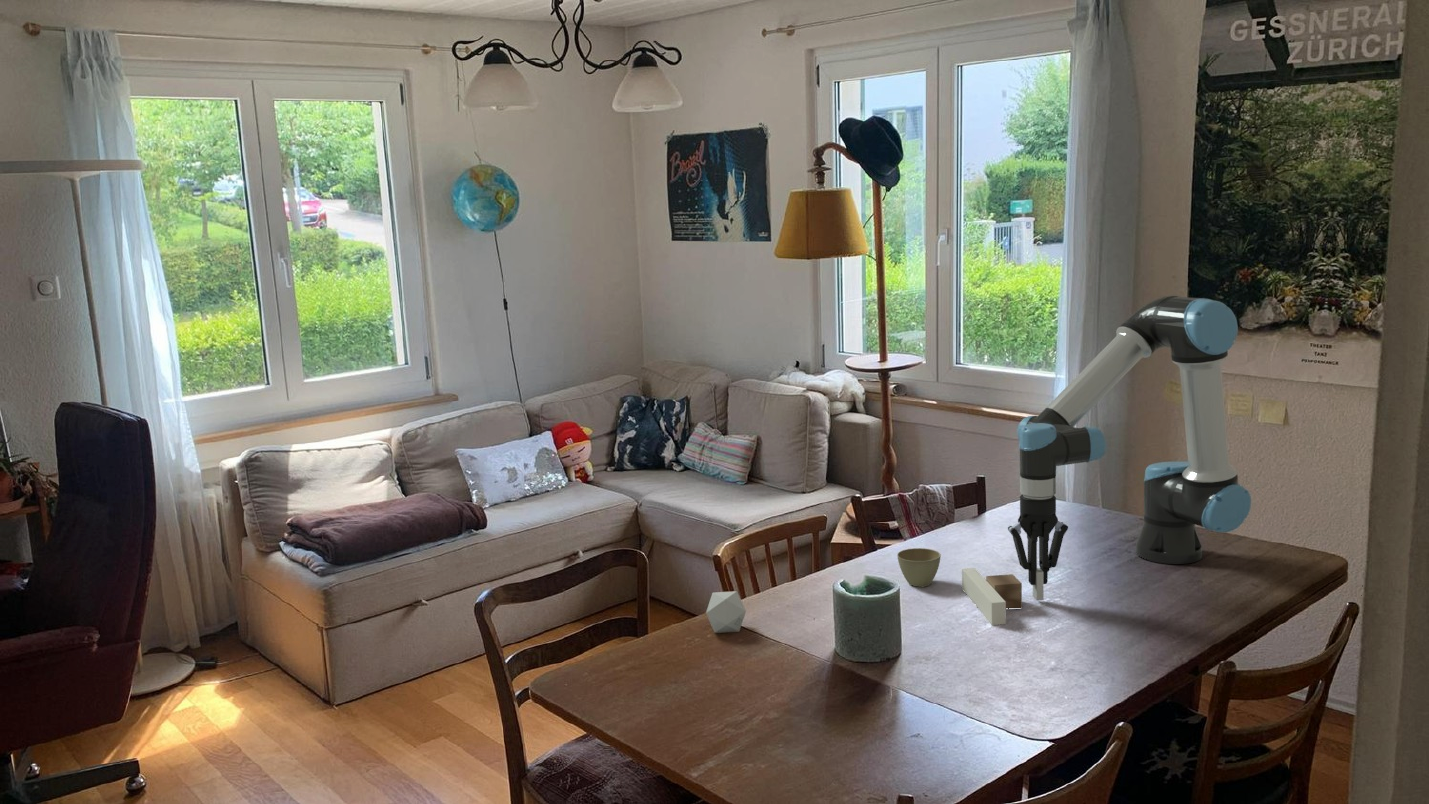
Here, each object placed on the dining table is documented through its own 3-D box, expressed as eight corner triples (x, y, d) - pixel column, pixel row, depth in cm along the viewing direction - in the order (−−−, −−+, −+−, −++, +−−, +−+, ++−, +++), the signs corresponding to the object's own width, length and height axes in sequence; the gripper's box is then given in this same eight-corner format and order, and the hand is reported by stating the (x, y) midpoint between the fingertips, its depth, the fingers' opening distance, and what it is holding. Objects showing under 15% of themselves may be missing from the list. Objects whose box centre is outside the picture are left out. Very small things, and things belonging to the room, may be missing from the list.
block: (1012, 599, 246) (1012, 574, 245) (1021, 609, 241) (1021, 583, 239) (986, 601, 246) (986, 576, 245) (994, 611, 240) (994, 585, 239)
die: (733, 643, 231) (756, 601, 233) (695, 622, 232) (718, 580, 233) (732, 642, 239) (754, 601, 241) (696, 622, 240) (718, 581, 242)
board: (975, 588, 254) (975, 567, 253) (1006, 624, 232) (1006, 601, 232) (962, 589, 254) (961, 568, 253) (991, 625, 232) (991, 602, 231)
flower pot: (938, 576, 264) (938, 547, 262) (943, 590, 254) (942, 560, 253) (896, 576, 265) (895, 547, 263) (899, 591, 255) (898, 561, 254)
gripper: (1060, 488, 243) (1060, 589, 248) (1002, 492, 243) (1003, 594, 247) (1073, 497, 236) (1073, 601, 240) (1013, 501, 235) (1014, 606, 240)
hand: (1038, 597), depth 244 cm, fingers closed
